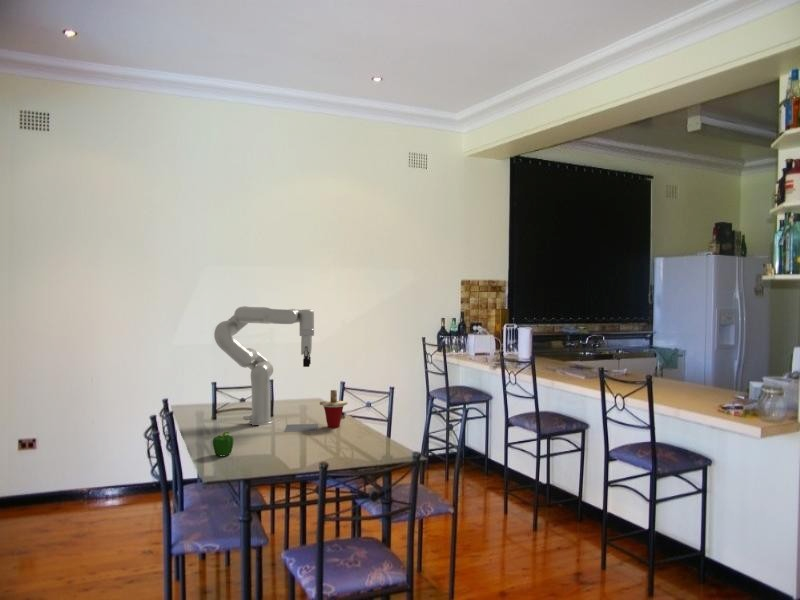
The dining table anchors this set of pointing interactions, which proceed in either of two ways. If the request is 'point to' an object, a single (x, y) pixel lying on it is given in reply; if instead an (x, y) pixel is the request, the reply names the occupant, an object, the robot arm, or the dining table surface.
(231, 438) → the bell pepper
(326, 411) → the plastic cup
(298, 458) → the dining table surface
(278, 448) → the dining table surface
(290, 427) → the mat
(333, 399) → the lid
